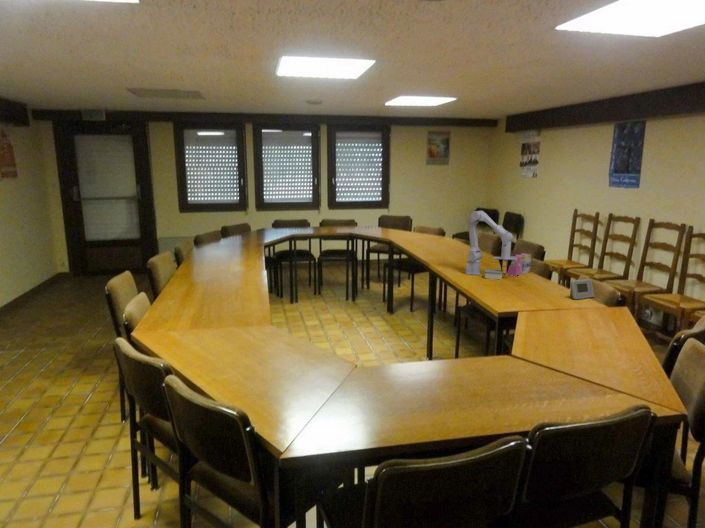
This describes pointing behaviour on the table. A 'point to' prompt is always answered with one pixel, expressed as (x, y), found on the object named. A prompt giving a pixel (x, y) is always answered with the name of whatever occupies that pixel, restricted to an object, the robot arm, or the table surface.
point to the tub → (493, 275)
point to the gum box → (519, 264)
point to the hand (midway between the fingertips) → (504, 270)
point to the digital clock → (581, 289)
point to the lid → (496, 270)
